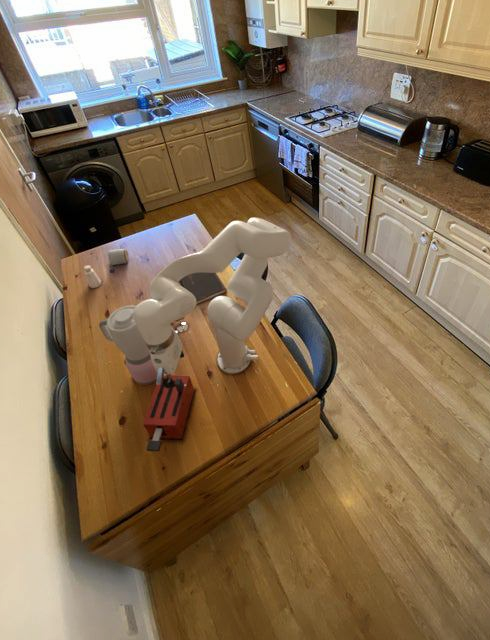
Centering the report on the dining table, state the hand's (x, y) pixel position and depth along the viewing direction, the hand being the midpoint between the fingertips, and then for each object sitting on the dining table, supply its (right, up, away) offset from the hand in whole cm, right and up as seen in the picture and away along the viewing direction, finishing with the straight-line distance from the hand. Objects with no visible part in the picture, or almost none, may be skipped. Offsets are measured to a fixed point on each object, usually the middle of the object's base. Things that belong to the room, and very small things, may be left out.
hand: (174, 370), depth 104 cm
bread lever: (-4, -19, -4) cm, 20 cm away
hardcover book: (-6, +19, +58) cm, 61 cm away
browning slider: (0, -8, +6) cm, 10 cm away
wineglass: (-9, +3, +38) cm, 39 cm away
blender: (-18, -9, +23) cm, 30 cm away
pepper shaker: (-57, +19, +60) cm, 84 cm away
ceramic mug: (-51, +29, +73) cm, 93 cm away
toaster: (-3, -18, +10) cm, 21 cm away
